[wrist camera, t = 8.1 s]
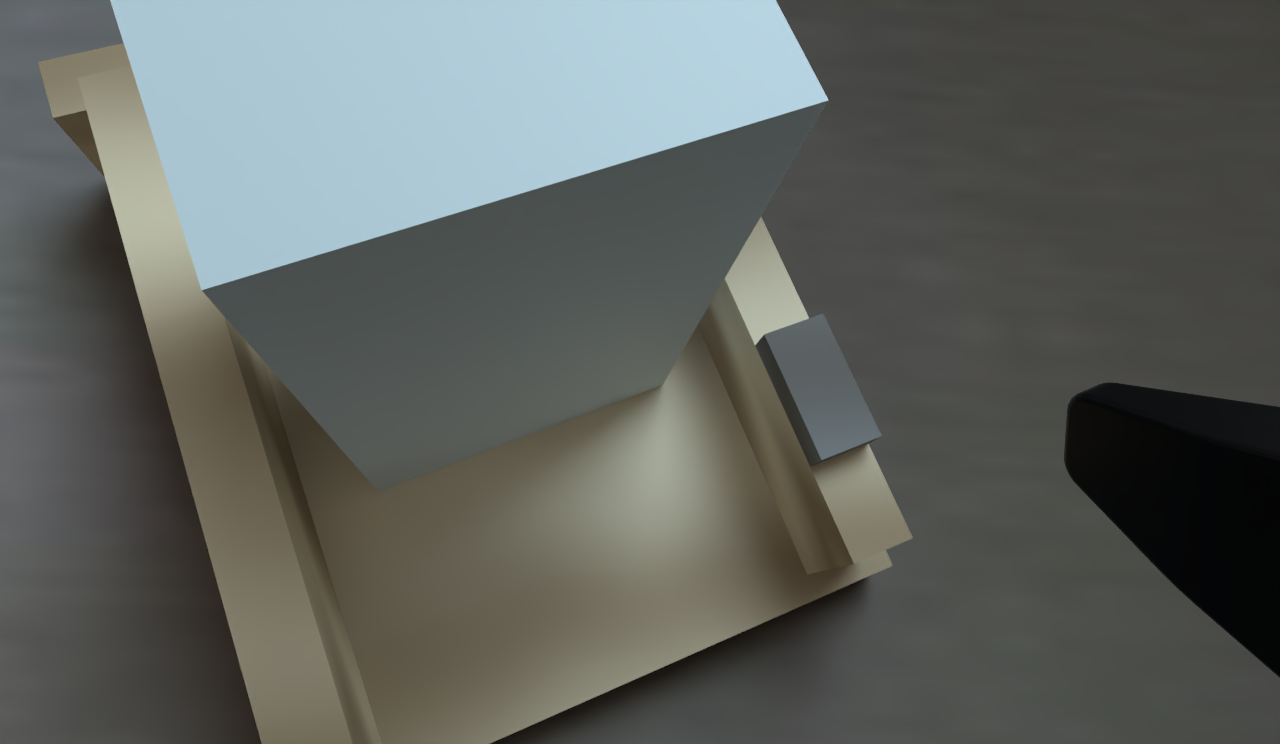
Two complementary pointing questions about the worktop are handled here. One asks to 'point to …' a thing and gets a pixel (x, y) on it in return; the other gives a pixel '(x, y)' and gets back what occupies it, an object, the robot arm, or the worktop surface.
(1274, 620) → the robot arm
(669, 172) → the pale blue box
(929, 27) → the worktop surface
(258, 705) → the wooden tray
